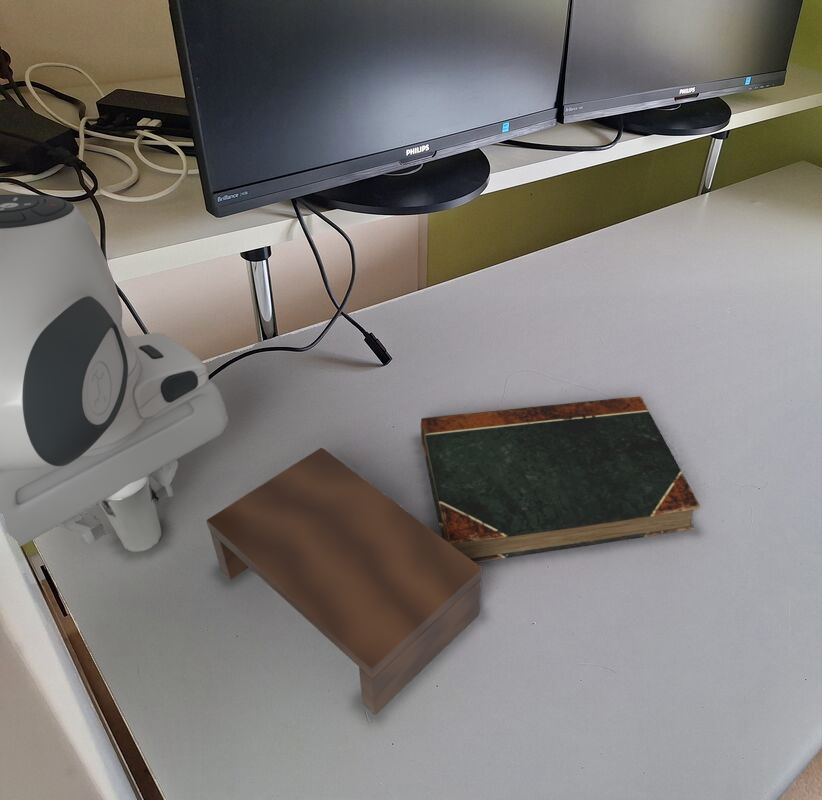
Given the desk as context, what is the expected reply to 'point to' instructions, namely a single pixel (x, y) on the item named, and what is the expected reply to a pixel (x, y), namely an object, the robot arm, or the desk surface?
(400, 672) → the riser shelf
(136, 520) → the milkshake
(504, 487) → the book
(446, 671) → the desk surface
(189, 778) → the desk surface
